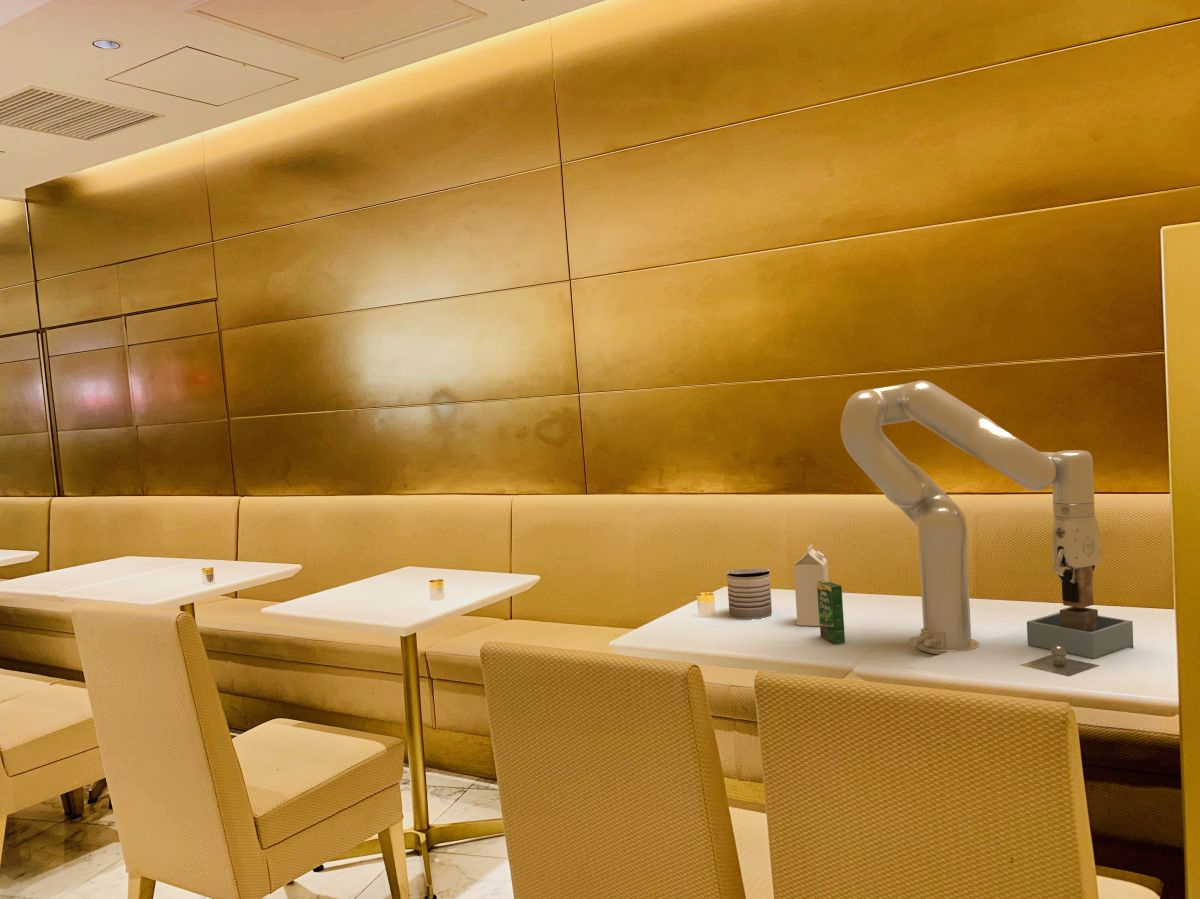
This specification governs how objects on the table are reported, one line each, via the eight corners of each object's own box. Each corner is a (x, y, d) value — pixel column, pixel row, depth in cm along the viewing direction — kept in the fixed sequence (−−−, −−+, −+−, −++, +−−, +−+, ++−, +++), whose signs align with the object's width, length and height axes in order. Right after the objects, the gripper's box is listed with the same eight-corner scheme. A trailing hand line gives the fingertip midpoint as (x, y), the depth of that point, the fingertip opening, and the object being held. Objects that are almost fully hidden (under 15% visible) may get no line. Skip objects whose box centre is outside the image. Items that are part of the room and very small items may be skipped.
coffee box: (818, 636, 210) (815, 580, 209) (830, 634, 211) (827, 579, 210) (833, 644, 202) (830, 586, 202) (845, 643, 203) (842, 585, 202)
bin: (1093, 664, 176) (1092, 633, 176) (1027, 650, 188) (1026, 621, 188) (1133, 650, 183) (1132, 621, 183) (1067, 637, 195) (1066, 610, 195)
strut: (1084, 638, 182) (1081, 569, 182) (1060, 633, 186) (1057, 566, 186) (1098, 633, 185) (1095, 565, 184) (1075, 629, 189) (1072, 563, 188)
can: (726, 620, 231) (723, 573, 231) (730, 609, 242) (728, 565, 242) (771, 619, 229) (769, 572, 228) (773, 609, 240) (771, 564, 239)
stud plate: (1069, 681, 167) (1067, 655, 167) (1019, 670, 176) (1018, 645, 175) (1100, 670, 172) (1099, 645, 172) (1050, 659, 181) (1049, 635, 181)
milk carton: (797, 626, 221) (792, 549, 220) (802, 619, 227) (797, 544, 226) (826, 627, 218) (822, 549, 217) (830, 619, 224) (826, 544, 224)
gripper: (1067, 517, 177) (1071, 609, 178) (1115, 507, 186) (1118, 595, 186) (1031, 514, 184) (1035, 603, 184) (1080, 505, 192) (1083, 590, 193)
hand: (1077, 598), depth 185 cm, fingers closed on strut, 4 cm apart
